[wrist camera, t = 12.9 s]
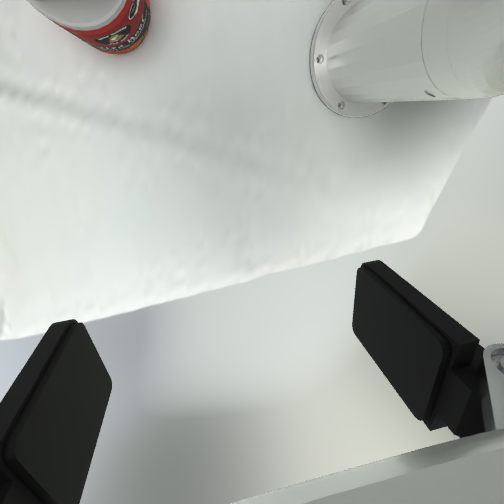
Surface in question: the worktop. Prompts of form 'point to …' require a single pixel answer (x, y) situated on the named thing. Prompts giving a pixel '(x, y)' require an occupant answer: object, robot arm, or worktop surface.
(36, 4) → the canned food
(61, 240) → the worktop surface
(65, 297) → the worktop surface
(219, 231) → the worktop surface
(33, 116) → the worktop surface
